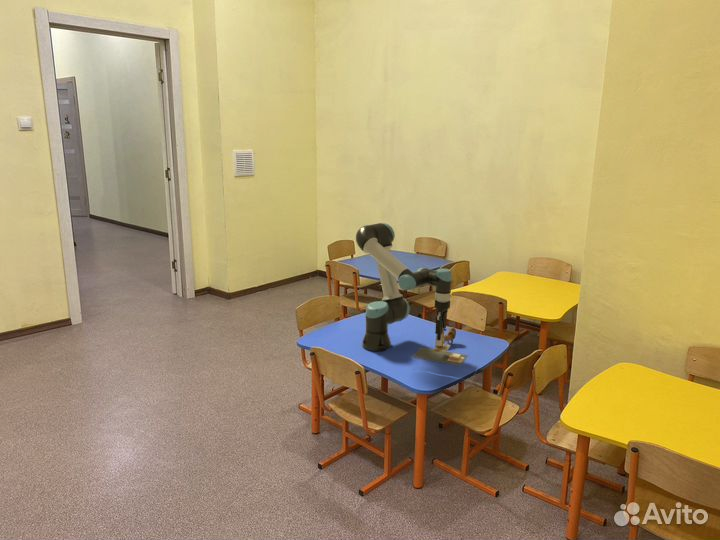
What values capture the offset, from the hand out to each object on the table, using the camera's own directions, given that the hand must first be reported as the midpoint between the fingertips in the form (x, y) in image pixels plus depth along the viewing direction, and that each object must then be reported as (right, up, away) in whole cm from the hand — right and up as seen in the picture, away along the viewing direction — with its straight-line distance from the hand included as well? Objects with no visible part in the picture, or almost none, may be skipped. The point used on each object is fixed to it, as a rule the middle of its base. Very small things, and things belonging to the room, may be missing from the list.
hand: (439, 344), depth 270 cm
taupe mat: (0, -7, +1) cm, 7 cm away
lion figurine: (+6, -3, +17) cm, 18 cm away
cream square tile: (+7, -7, -2) cm, 10 cm away
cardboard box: (+1, -2, 0) cm, 3 cm away
